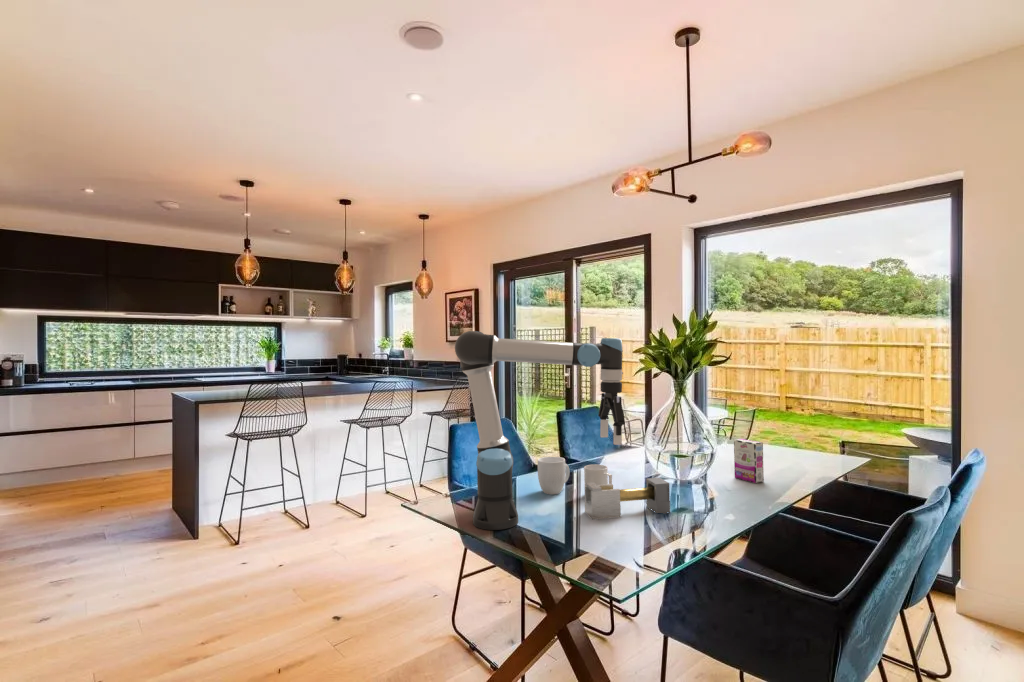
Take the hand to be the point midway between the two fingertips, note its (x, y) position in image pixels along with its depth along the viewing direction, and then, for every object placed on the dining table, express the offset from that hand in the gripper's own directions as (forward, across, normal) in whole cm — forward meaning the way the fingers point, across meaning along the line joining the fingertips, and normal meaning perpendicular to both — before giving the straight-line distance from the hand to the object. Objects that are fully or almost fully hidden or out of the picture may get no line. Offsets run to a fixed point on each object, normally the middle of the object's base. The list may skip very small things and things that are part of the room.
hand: (610, 440), depth 191 cm
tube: (+20, -6, -5) cm, 21 cm away
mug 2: (+24, +14, -1) cm, 28 cm away
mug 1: (+25, +25, +14) cm, 38 cm away
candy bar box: (+22, +22, -69) cm, 76 cm away
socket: (+23, -6, -16) cm, 29 cm away
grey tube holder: (+24, -6, +5) cm, 25 cm away
